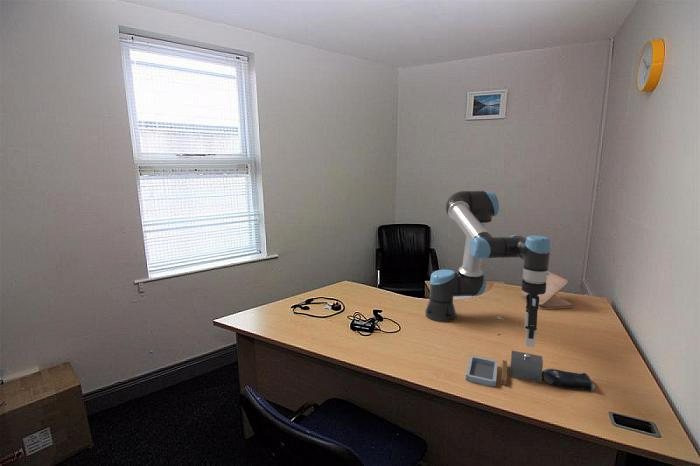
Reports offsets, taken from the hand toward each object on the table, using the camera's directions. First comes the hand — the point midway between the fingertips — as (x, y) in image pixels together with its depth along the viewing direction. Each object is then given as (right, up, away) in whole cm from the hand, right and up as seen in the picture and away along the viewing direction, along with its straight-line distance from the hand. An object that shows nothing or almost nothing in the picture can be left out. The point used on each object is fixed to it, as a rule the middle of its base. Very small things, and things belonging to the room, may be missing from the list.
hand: (529, 337), depth 129 cm
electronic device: (+13, -16, 0) cm, 20 cm away
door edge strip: (-7, -15, +4) cm, 17 cm away
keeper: (-15, -15, +5) cm, 21 cm away
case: (+47, -2, +74) cm, 88 cm away
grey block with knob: (0, -15, +3) cm, 15 cm away
